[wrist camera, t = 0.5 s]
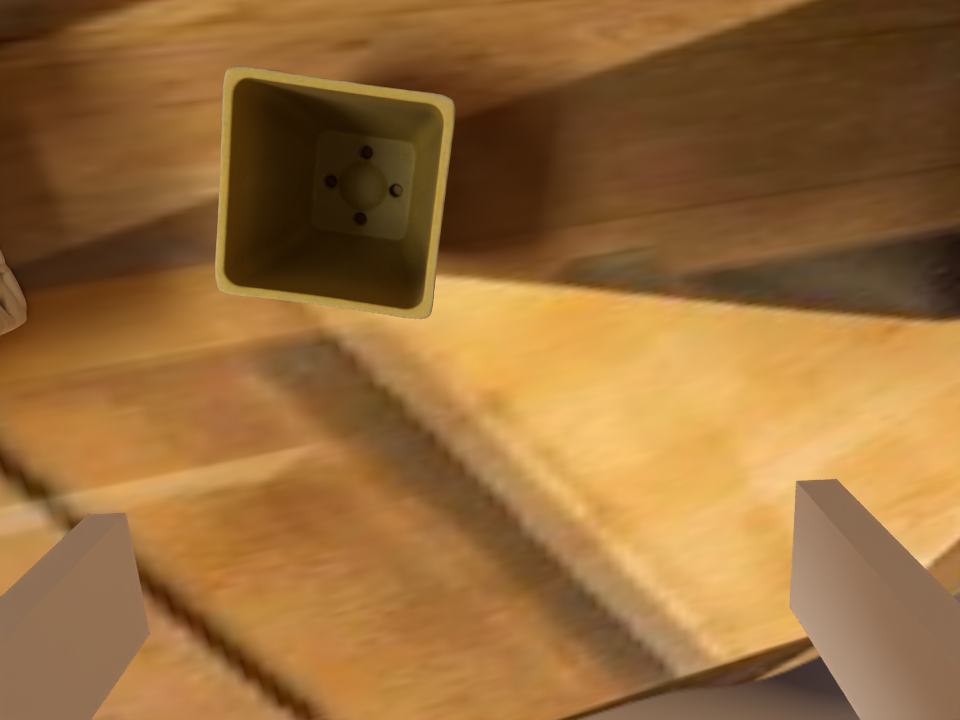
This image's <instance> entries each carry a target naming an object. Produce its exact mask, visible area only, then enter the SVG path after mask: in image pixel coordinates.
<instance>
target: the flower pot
mask: <svg viewBox="0 0 960 720" xmlns="http://www.w3.org/2000/svg"><path fill="white" fill-rule="evenodd" d="M455 114H456V109H455V104H454V101H453V100H452V99H451V98H449V97H447V96H445V95H441V94H435V93H428V92H418V91H411V90H403V89H395V88H388V87H381V86H373V85H366V84H359V83H353V82H346V81H340V80H331V79H325V78H318V77H311V76H304V75H297V74H291V73H286V72H280V71H274V70H268V69H260V68H254V67H244V66H234V67H231V68H229V69H227V71H226V73H225V77H224V84H223V102H222V137H221V166H220V187H219V209H218V225H217V239H216V258H215V276H216V283H217V286H218V289H219V290H220V291H222V292H224V293H227V294H232V295H239V296H248V297H258V298H269V299H277V300H285V301H294V302H304V303H312V304H320V305H326V306H333V307H340V308H346V309H353V310H359V311H365V312H372V313H378V314H385V315H391V316H396V317H402V318H410V319H424V318H427V317H429V316H430V314H431V311H432V307H433V298H434V288H435V279H436V270H437V261H438V252H439V243H440V234H441V227H442V219H443V211H444V203H445V195H446V187H447V179H448V171H449V163H450V154H451V146H452V139H453V131H454V125H455ZM364 147H370V148H371V149H372V156H371V157H370V158H368V159H366V158H364V157H363V156H362V154H361V150H362V149H363V148H364ZM328 176H334V177H335V178H336V180H337V184H336V185H335V187H328V186H327V184H326V178H327V177H328ZM393 185H399V186H400V187H401V189H402V192H401V194H400V195H399V196H393V195H392V194H391V192H390V188H391V187H392V186H393ZM358 213H363V214H364V215H365V216H366V221H365V223H363V224H358V223H357V222H356V221H355V216H356V214H358Z"/></svg>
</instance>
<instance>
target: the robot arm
mask: <svg viewBox="0 0 960 720" xmlns="http://www.w3.org/2000/svg"><path fill="white" fill-rule="evenodd" d="M790 608H791V609H792V611H793V613H794V614H795V616H796V617H797V619H798V621H799V622H800V624H801V625H802V627H803V629H804V630H805V632H806V633H807V635H808V637H809V638H810V640H811V641H812V643H813V645H814V646H815V648H816V649H817V651H818V653H819V654H820V656H821V657H822V659H823V661H824V662H825V664H826V665H827V667H828V668H829V670H830V672H831V673H832V675H833V677H834V678H835V680H836V681H837V683H838V684H839V686H840V688H841V689H842V691H843V692H844V694H845V696H846V697H847V699H848V700H849V702H850V704H851V705H852V707H853V708H854V710H855V712H856V713H857V715H858V716H859V718H860V719H861V720H960V603H959V602H958V601H957V600H956V599H955V598H954V597H953V596H952V595H951V594H950V593H949V592H948V591H947V590H946V589H945V588H944V587H943V586H942V585H941V584H940V583H939V582H938V581H937V580H936V579H935V578H934V577H933V576H932V575H931V574H930V573H929V572H928V571H927V570H926V569H925V568H924V567H923V566H922V565H921V564H920V563H919V562H918V561H917V560H916V559H915V558H914V557H913V556H912V555H911V554H910V553H909V552H908V551H907V550H906V549H905V548H904V547H903V546H902V545H901V544H900V543H899V542H898V541H897V540H896V539H895V538H894V537H893V536H892V535H891V534H890V533H889V532H888V531H887V530H886V529H885V528H884V527H883V526H882V525H881V524H880V523H879V522H878V521H877V520H876V519H875V518H874V517H873V516H872V514H871V513H870V512H869V511H868V510H867V509H866V508H865V507H864V506H863V505H862V504H861V503H860V502H859V501H858V500H857V499H856V498H855V497H854V496H853V495H852V494H851V493H850V492H849V491H848V490H847V489H846V488H845V487H844V486H843V485H842V484H841V483H840V482H839V481H838V480H837V479H830V480H809V481H796V496H795V514H794V532H793V551H792V569H791V588H790ZM149 634H150V631H149V626H148V621H147V616H146V611H145V606H144V601H143V596H142V591H141V586H140V581H139V576H138V571H137V566H136V561H135V556H134V551H133V546H132V541H131V536H130V531H129V526H128V521H127V516H126V513H113V514H92V515H87V516H86V517H85V518H84V519H83V520H82V521H81V522H80V523H79V524H78V525H76V526H75V527H74V528H73V529H72V530H71V531H70V532H69V533H68V534H67V535H66V536H65V537H64V538H63V539H62V540H61V541H60V542H58V543H57V544H56V545H55V546H54V547H53V548H52V549H51V550H50V551H49V552H48V553H47V554H46V555H45V556H44V557H43V558H42V559H40V560H39V561H38V562H37V563H36V564H35V565H34V566H33V567H32V568H31V569H30V570H29V571H28V572H27V573H26V574H25V575H24V576H23V577H21V578H20V579H19V580H18V581H17V582H16V583H15V584H14V585H13V586H12V587H11V588H10V589H9V590H8V591H7V592H6V593H5V594H3V595H2V596H1V597H0V720H91V719H92V718H93V716H94V715H95V713H96V712H97V710H98V709H99V707H100V706H101V705H102V703H103V702H104V700H105V699H106V697H107V696H108V694H109V693H110V691H111V690H112V688H113V687H114V686H115V684H116V683H117V681H118V680H119V678H120V677H121V675H122V674H123V672H124V671H125V669H126V668H127V666H128V665H129V664H130V662H131V661H132V659H133V658H134V656H135V655H136V653H137V652H138V650H139V649H140V647H141V646H142V645H143V643H144V642H145V640H146V639H147V637H148V636H149Z"/></svg>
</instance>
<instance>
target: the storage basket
mask: <svg viewBox="0 0 960 720" xmlns="http://www.w3.org/2000/svg"><path fill="white" fill-rule="evenodd" d="M26 313H27V306H26V301H25V298H24V295H23V293H22V291H21V288H20V286H19V284H18V282H17V280H16V278H15V277H14V275H13V273H12V272H11V270H10V268H9V267H8V266H7V265H6V264H5V259H4V256H3V254H2V252H1V249H0V335H2V334H5V333H7V332H10V331H12V330H14V329H16V328H17V327H19V326H21V325H22V324H23V323H25V322H26V320H27V317H26Z"/></svg>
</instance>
